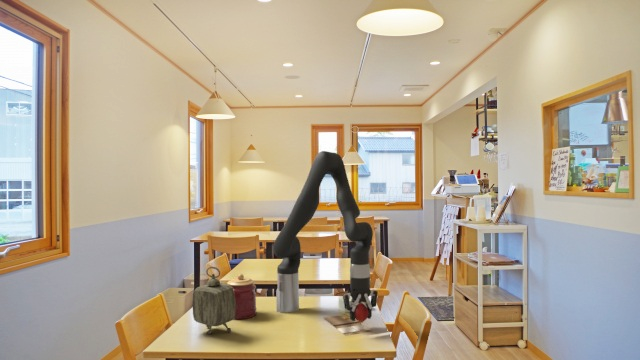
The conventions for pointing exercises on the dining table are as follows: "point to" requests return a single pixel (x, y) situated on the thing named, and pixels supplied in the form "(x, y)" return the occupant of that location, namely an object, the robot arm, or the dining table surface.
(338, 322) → the board
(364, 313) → the onion
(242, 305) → the canister
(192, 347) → the dining table surface
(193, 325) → the dining table surface
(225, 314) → the tabletop clock
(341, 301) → the block
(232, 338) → the dining table surface
